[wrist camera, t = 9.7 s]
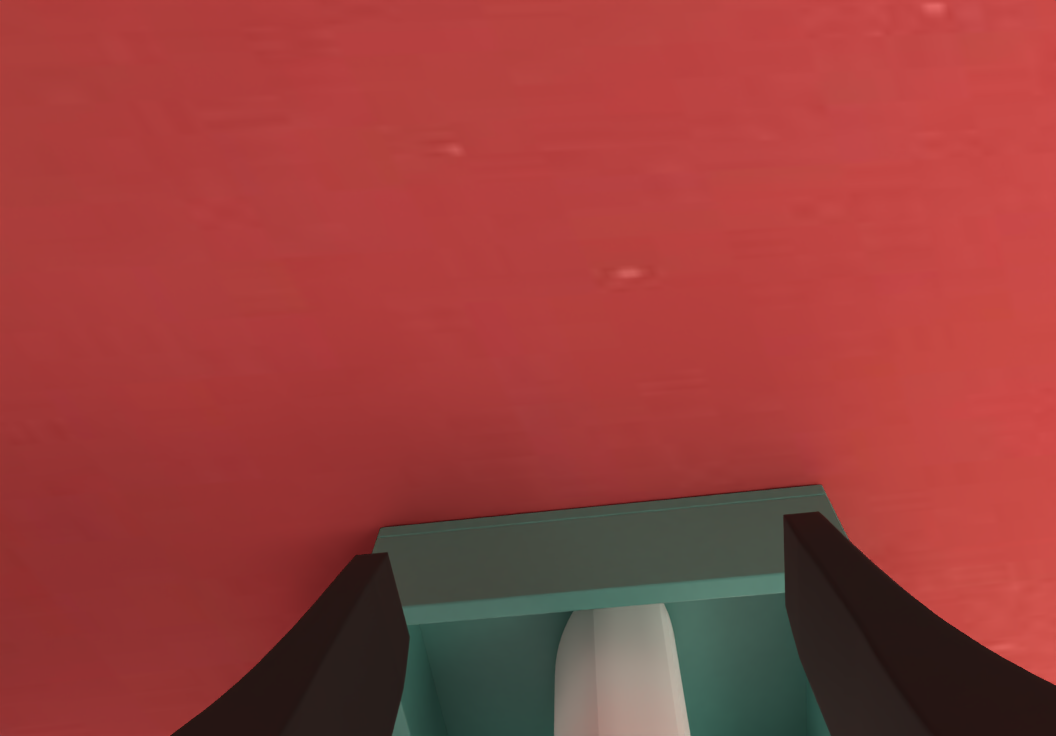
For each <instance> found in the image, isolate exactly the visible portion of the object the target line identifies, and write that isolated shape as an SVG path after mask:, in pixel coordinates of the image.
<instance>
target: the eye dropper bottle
mask: <svg viewBox="0 0 1056 736" xmlns="http://www.w3.org/2000/svg"><path fill="white" fill-rule="evenodd" d="M554 736H690V729H689V723H688V717H687V711H686V705H685V699H684V693H683V686H682V680H681V674H680V668H679V662H678V656H677V650H676V643H675V637H674V632H673V628H672V624H671V620H670V617H669V614H668V612H667V609H666V607H665V605H664V603H659V604H648V605H636V606H625V607H613V608H601V609H590V610H578V611H573V613H572V614H571V616H570V618H569V620H568V622H567V624H566V626H565V628H564V631H563V634H562V636H561V640H560V643H559V647H558V651H557V657H556V665H555V699H554Z"/></svg>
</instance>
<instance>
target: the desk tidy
mask: <svg viewBox="0 0 1056 736" xmlns="http://www.w3.org/2000/svg"><path fill="white" fill-rule="evenodd" d="M817 511H819V512H820V513H821V514H822V515H824V516H825V517H826V518H827V519H828V520H829V521H830V522H831V523H832V524H833V525H834V526H835V527H836V528H837V529H838V530H839V531H840V532H841V533H842V534H843V535H844V536H845V537H846V538H847V539H848V537H847V535H846V533H845V531H844V529H843V527H842V525H841V523H840V521H839V519H838V517H837V515H836V513H835V511H834V509H833V507H832V505H831V503H830V501H829V499H828V497H827V495H826V493H825V491H824V489H823V487H822V485H810V486H800V487H790V488H780V489H770V490H759V491H749V492H739V493H729V494H719V495H708V496H698V497H688V498H678V499H668V500H658V501H647V502H637V503H627V504H617V505H607V506H596V507H586V508H576V509H566V510H556V511H545V512H535V513H525V514H515V515H505V516H494V517H484V518H474V519H464V520H454V521H443V522H433V523H423V524H413V525H403V526H392V527H382V528H380V530H379V533H378V536H377V539H376V542H375V545H374V548H373V551H372V554H373V553H383V552H388V555H389V559H390V563H391V567H392V570H393V574H394V578H395V582H396V586H397V590H398V593H399V597H400V601H401V605H402V609H403V612H404V616H405V620H406V624H407V628H408V631H409V635H410V642H409V651H408V660H407V668H406V676H405V683H404V689H403V694H402V698H401V702H400V706H399V710H398V714H397V718H396V722H395V726H394V730H393V733H392V736H554V699H555V665H556V657H557V651H558V647H559V643H560V640H561V636H562V634H563V631H564V628H565V626H566V624H567V622H568V620H569V618H570V616H571V614H572V613H573V611H578V610H590V609H601V608H613V607H625V606H636V605H648V604H659V603H664V605H665V607H666V609H667V612H668V614H669V617H670V620H671V624H672V628H673V632H674V637H675V643H676V650H677V656H678V662H679V668H680V674H681V680H682V686H683V693H684V699H685V705H686V711H687V717H688V723H689V729H690V736H831V735H830V733H829V730H828V728H827V725H826V723H825V720H824V718H823V715H822V713H821V711H820V708H819V706H818V703H817V701H816V698H815V696H814V693H813V691H812V688H811V686H810V683H809V681H808V678H807V676H806V673H805V671H804V668H803V666H802V663H801V661H800V658H799V655H798V651H797V648H796V644H795V641H794V637H793V633H792V630H791V626H790V622H789V618H788V614H787V610H786V606H785V572H784V527H783V515H785V514H796V513H807V512H817ZM848 540H849V539H848Z"/></svg>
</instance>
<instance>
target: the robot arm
mask: <svg viewBox="0 0 1056 736" xmlns="http://www.w3.org/2000/svg"><path fill="white" fill-rule="evenodd" d="M783 527H784V572H785V606H786V610H787V614H788V618H789V622H790V626H791V630H792V633H793V637H794V641H795V644H796V648H797V651H798V655H799V658H800V661H801V663H802V666H803V668H804V671H805V673H806V676H807V678H808V681H809V683H810V686H811V688H812V691H813V693H814V696H815V698H816V701H817V703H818V706H819V708H820V711H821V713H822V715H823V718H824V720H825V723H826V725H827V728H828V730H829V733H830V735H831V736H1056V685H1054V684H1052V683H1050V682H1048V681H1046V680H1044V679H1042V678H1040V677H1038V676H1036V675H1034V674H1032V673H1030V672H1028V671H1027V670H1025V669H1023V668H1021V667H1019V666H1017V665H1016V664H1014V663H1012V662H1010V661H1008V660H1006V659H1005V658H1003V657H1001V656H999V655H998V654H996V653H994V652H993V651H991V650H989V649H988V648H986V647H984V646H983V645H981V644H979V643H978V642H976V641H975V640H973V639H972V638H970V637H969V636H967V635H966V634H964V633H962V632H961V631H959V630H958V629H956V628H955V627H953V626H952V625H950V624H949V623H947V622H946V621H944V620H943V619H942V618H940V617H939V616H937V615H936V614H935V613H933V612H932V611H931V610H929V609H928V608H927V607H926V606H924V605H923V604H922V603H920V602H919V601H918V600H916V599H915V598H914V597H913V596H911V595H910V594H909V593H908V592H907V591H905V590H904V589H903V588H902V587H900V586H899V585H898V584H897V583H896V582H895V581H893V580H892V579H891V578H890V577H889V576H888V575H887V574H885V573H884V572H883V571H882V570H881V569H880V568H878V567H877V566H876V565H875V564H874V563H873V562H872V561H871V560H869V559H868V558H867V557H866V556H865V555H864V554H863V553H862V552H861V551H860V550H859V549H858V548H857V547H856V546H854V545H853V544H852V543H851V542H850V541H849V540H848V539H847V538H846V537H845V536H844V535H843V534H842V533H841V532H840V531H839V530H838V529H837V528H836V527H835V526H834V525H833V524H832V523H831V522H830V521H829V520H828V519H827V518H826V517H825V516H824V515H822V514H821V513H820V512H819V511H817V512H807V513H796V514H785V515H783ZM409 642H410V635H409V631H408V628H407V624H406V620H405V616H404V612H403V609H402V605H401V601H400V597H399V593H398V590H397V586H396V582H395V578H394V574H393V570H392V567H391V563H390V559H389V555H388V552H383V553H373V554H362V555H356V556H355V557H354V558H353V559H352V560H351V561H350V562H349V563H348V565H347V566H346V567H345V568H344V569H343V570H342V572H341V573H340V574H339V575H338V576H337V577H336V579H335V580H334V581H333V582H332V583H331V584H330V586H329V587H328V588H327V589H326V590H325V591H324V593H323V594H322V595H321V596H320V597H319V598H318V600H317V601H316V602H315V603H314V604H313V605H312V607H311V608H310V609H309V610H308V611H307V612H306V613H305V614H304V616H303V617H302V618H301V619H300V620H299V621H298V622H297V623H296V625H295V626H294V627H293V628H292V629H291V630H290V631H289V632H288V633H287V634H286V635H285V636H284V637H283V638H282V639H281V640H280V641H279V642H278V643H277V644H276V645H275V646H274V647H273V649H272V650H271V651H270V652H269V653H268V654H267V655H266V656H265V657H264V658H263V659H262V660H261V661H260V662H259V663H258V664H257V665H256V666H255V667H254V668H253V669H252V670H251V671H249V672H248V673H247V674H246V675H245V676H244V677H243V678H242V679H241V680H240V681H239V682H237V683H236V684H235V685H234V686H233V687H232V688H230V689H229V690H228V691H227V692H226V693H225V694H223V695H222V696H221V697H220V698H219V699H218V700H216V701H215V702H214V703H213V704H212V705H210V706H209V707H208V708H207V709H205V710H204V711H203V712H201V713H200V714H199V715H197V716H196V717H195V718H193V719H192V720H191V721H189V722H188V723H187V724H185V725H184V726H183V727H181V728H180V729H179V730H177V731H176V732H175V733H173V734H172V735H171V736H392V733H393V730H394V726H395V722H396V718H397V714H398V710H399V706H400V702H401V698H402V694H403V689H404V683H405V676H406V668H407V660H408V651H409Z"/></svg>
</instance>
